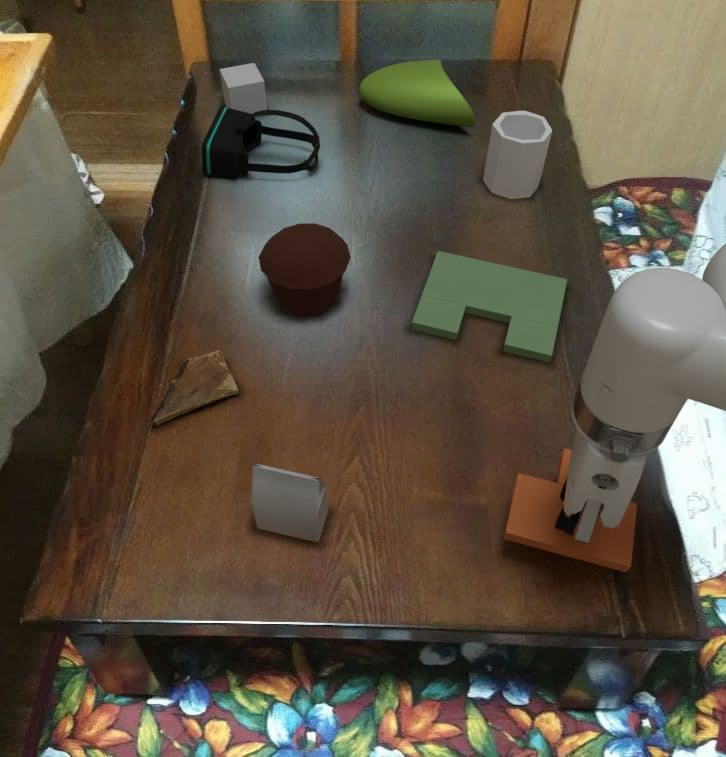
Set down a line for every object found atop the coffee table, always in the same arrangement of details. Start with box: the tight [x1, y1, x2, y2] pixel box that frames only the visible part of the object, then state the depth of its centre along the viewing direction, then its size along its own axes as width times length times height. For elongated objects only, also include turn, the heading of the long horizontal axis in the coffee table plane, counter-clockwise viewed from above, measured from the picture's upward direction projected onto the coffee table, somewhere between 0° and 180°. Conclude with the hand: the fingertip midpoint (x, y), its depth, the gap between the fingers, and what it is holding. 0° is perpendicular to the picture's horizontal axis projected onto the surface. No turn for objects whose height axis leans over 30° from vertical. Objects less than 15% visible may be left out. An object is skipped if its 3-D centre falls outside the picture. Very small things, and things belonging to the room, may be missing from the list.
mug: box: [482, 110, 553, 200], centre depth 111 cm, size 12×9×10 cm
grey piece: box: [250, 463, 329, 543], centre depth 74 cm, size 4×7×10 cm, turn 76°
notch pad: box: [410, 250, 568, 364], centre depth 97 cm, size 18×14×2 cm
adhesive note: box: [219, 62, 268, 114], centre depth 123 cm, size 6×6×6 cm
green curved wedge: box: [358, 59, 476, 128], centre depth 122 cm, size 8×12×20 cm
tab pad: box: [503, 448, 638, 573], centre depth 72 cm, size 12×11×8 cm
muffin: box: [258, 222, 352, 319], centre depth 95 cm, size 12×11×10 cm
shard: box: [149, 350, 240, 426], centre depth 88 cm, size 11×8×2 cm
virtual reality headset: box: [201, 105, 321, 179], centre depth 113 cm, size 11×17×10 cm, turn 81°
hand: (573, 514), depth 72 cm, fingers closed on tab pad, 2 cm apart
